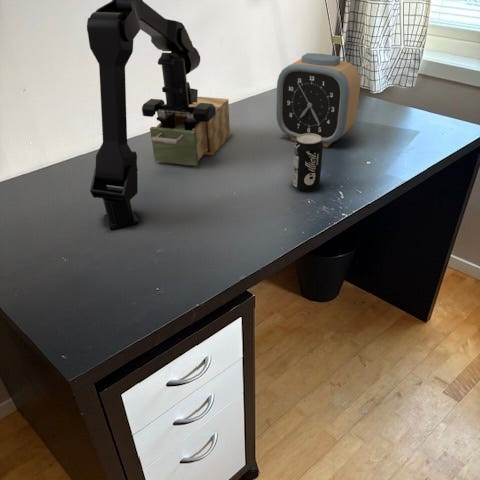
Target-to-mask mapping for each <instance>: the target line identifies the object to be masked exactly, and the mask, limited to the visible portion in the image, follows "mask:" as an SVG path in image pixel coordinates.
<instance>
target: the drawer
mask: <svg viewBox="0 0 480 480" xmlns="http://www.w3.org/2000/svg"><path fill="white" fill-rule="evenodd" d="M186 119H187V117H178V116H175V127H177V126H178V125H184V121H185V120H186ZM149 132H150V138H151V139H150V140H151V144H152V152H153V157H154V161H155V162H161V163H168V164H169V163H171V164H178V165H185V166H193V167H194V166H195V167H198V166H199V160H200V159H202V157H203V156H205V153H206V152H207V151H208V150H209V139H208V126H207V122H202V121H197V122H196V124H195V127H194V128H193V129H192V131H190V130H180V129H170V128H165V127H164V126H163V125H162V123H161V122H159V123H158V124H157V125H156V126H150V128H149Z"/></svg>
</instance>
